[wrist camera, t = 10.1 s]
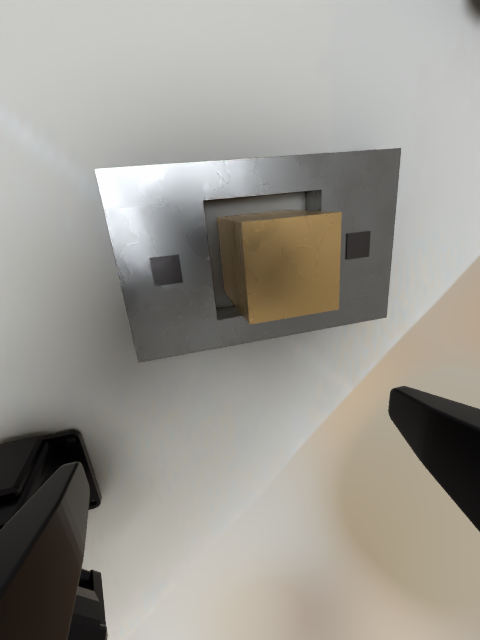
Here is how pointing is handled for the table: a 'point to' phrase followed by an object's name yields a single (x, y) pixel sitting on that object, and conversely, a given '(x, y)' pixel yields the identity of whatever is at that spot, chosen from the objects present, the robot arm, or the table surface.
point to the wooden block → (281, 263)
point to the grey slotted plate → (193, 252)
